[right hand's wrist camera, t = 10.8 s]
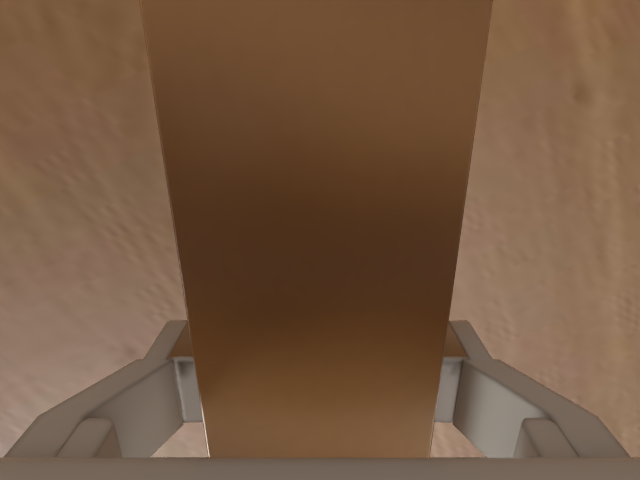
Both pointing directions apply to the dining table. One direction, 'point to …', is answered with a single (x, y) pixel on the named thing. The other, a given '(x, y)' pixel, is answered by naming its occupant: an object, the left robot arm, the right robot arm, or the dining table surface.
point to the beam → (317, 211)
